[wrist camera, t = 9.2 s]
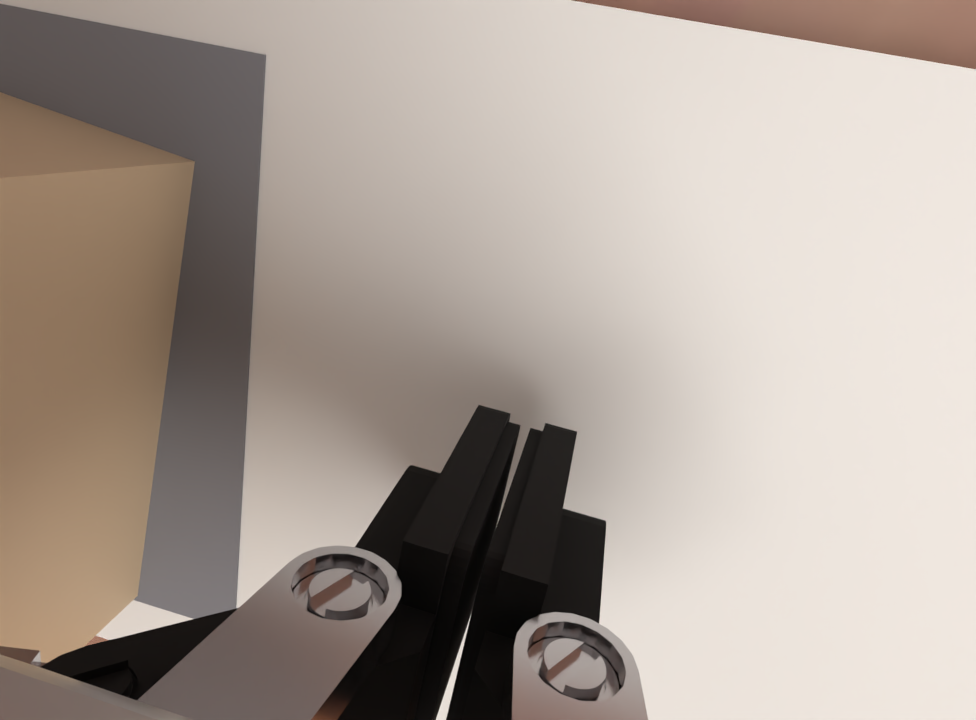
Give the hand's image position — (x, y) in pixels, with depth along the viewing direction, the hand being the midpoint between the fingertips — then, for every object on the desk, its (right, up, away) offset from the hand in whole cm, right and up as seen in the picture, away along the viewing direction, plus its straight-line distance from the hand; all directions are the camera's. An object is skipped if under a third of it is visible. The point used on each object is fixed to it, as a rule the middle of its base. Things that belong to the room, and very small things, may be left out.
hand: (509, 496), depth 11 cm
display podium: (-2, +2, +4) cm, 5 cm away
